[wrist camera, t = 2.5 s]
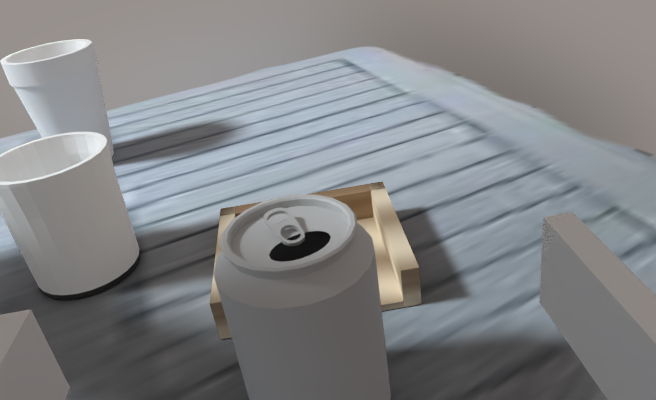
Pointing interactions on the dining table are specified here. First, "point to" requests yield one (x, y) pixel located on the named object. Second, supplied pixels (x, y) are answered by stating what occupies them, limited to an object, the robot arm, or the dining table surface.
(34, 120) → the foam cup
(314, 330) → the can
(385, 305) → the holder
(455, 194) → the dining table surface
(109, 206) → the mug
